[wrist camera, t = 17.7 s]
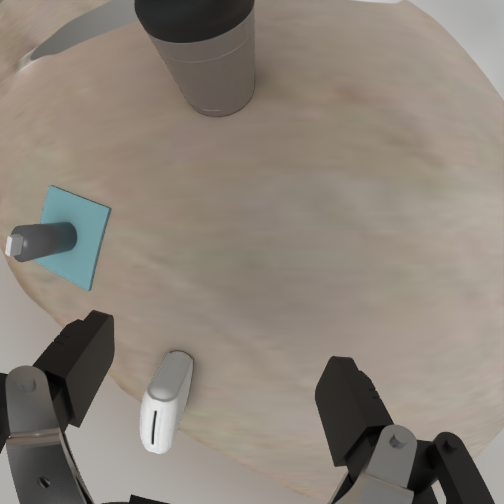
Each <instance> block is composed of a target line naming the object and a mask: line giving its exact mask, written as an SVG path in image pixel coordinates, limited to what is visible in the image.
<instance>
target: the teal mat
mask: <svg viewBox="0 0 504 504" xmlns="http://www.w3.org/2000/svg"><path fill="white" fill-rule="evenodd" d="M110 211H111V208H108V207H106V206H103V205H100V204H98V203H95V202H93V201H90V200H87V199H85V198H82V197H80V196H77V195H75V194H72V193H69V192H67V191H64V190H62V189H59V188H57V187H54V186H51V185H49V189H48V193H47V196H46V200H45V204H44V208H43V212H42V216H41V221H40V224H45V223H58V222H69V223H71V224H72V225H73V226H74V227H75V229H76V232H77V242H76V245H75V247H74V248H73V249H72V250H71V251H67V252H63V253H59V254H54V255H50V256H46V257H42V258H37V259H33V261H35V262H37V263H38V264H40V265H42V266H44V267H45V268H47V269H49V270H51V271H52V272H54V273H56V274H58V275H59V276H61V277H63V278H65V279H67V280H69V281H70V282H72V283H74V284H76V285H78V286H80V287H82V288H84V289H86V290H88V291H90V290H91V286H92V281H93V277H94V272H95V268H96V263H97V259H98V255H99V251H100V247H101V243H102V239H103V235H104V232H105V228H106V225H107V221H108V218H109V214H110Z"/></svg>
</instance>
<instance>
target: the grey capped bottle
mask: <svg viewBox="0 0 504 504" xmlns="http://www.w3.org/2000/svg"><path fill="white" fill-rule="evenodd" d="M76 242H77V232H76V229H75V227H74V226H73V225H72V224H71V223H69V222H58V223H45V224H33V225H22V226H17V227H15V228H14V229H13V231H12V233H11V235H8V239H7V245H6V253H5V254H7V255H8V256H9V257H11V256H14V258H15V259H16V260H17V261H19V262H25V261H29V260H33V259H37V258H42V257H46V256H50V255H54V254H59V253H63V252H67V251H71V250H72V249H73V248H74V247H75V245H76Z"/></svg>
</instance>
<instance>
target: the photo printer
mask: <svg viewBox="0 0 504 504" xmlns="http://www.w3.org/2000/svg"><path fill="white" fill-rule="evenodd" d="M192 371H193V359H191V358H190V356H189V355H187V354H186V353H184V352H180V351H175V352H172V353H170V352H169V353H168V354H167V355H166V357H165V359H164V360H163V362H162V364H161V365H160V367H159V369H158V370H157V372H156V373H155V375H154V377H153V378H152V380H151V382H150V383H149V385H148V387H147V388H146V391H145V393H144V396H143V400H142V405H141V413H140V435H141V440H142V443H143V445H144V447H145V448H146V449H147V450H148V451H151V452H155V453H157V454H162V453H165V452H167V451H168V450H169V449H170V447H171V446H172V443H173V441H174V438H175V435H176V432H177V430H178V427H179V424H180V421H181V418H182V416H183V413H184V410H185V407H186V403H187V399H188V395H189V389H190V384H191V378H192Z"/></svg>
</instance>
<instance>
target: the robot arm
mask: <svg viewBox="0 0 504 504" xmlns="http://www.w3.org/2000/svg"><path fill="white" fill-rule="evenodd" d="M135 12H136V14H137V17H138V18H139V21H140V22H141V24H142V26H143V27H144V29H145V31H146V32H147V34H148V36H149V37H150V39H151V41H152V42H153V44H154V46H155V47H156V49H157V50H158V52H159V54H160V55H161V57H162V59H163V60H164V62H165V64H166V65H167V67H168V69H169V71H170V72H171V74H172V76H173V77H174V79H175V81H176V82H177V84H178V86H179V88H180V89H181V91H182V93H183V94H184V96H185V98H186V99H187V101H188V103H189V104H190V106H191V107H192V108H193V109H194V110H196V111H197V112H199V113H201V114H204V115H207V116H213V117H214V116H225V115H229V114H232V113H235V112H237V111H238V110H240V109H242V108H243V107H244V106H245V105H246V104H247V103H248V102H249V100H250V99H251V97H252V95H253V92H254V87H255V19H254V0H135ZM114 351H115V347H114V318H113V316H112V315H109V314H106V313H102V312H99V311H96V310H93V311H91V312H90V314H89V315H88V316H87V317H86V318H85V319H84V321H82V320H79V319H78V320H76V321H74V322H72V323H70V324H68V325H66V327H65V328H64V329H63V330H62V331H61V332H60V335H58V336H57V337H56V338H55V339H54V342H52V343H51V344H50V345H49V346H48V347H47V349H46V350H45V351H44V352H43V354H42V355H41V356H40V357H39V358H38V359H37V361H36V362H35V363H34V364H33V366H20V367H17V368H15V369H13V370H12V371H11V372H10V373H9V374H4V373H0V453H1V451H2V449H3V447H4V445H5V443H6V448H7V454H8V458H9V464H10V468H11V473H12V477H13V481H14V485H15V488H16V492H17V495H18V499H19V502H20V504H94V502H93V500H92V498H91V496H90V494H89V492H88V490H87V488H86V486H85V484H84V481H83V479H82V477H81V475H80V472H79V470H78V467H77V465H76V462H75V459H74V457H73V454H72V451H71V448H70V446H69V443H68V440H67V436H66V434H65V430H66V428H67V426H68V424H71V425H73V426H76V427H78V428H79V427H80V425H81V423H82V421H83V419H84V417H85V415H86V413H87V411H88V409H89V407H90V405H91V402H92V400H93V399H94V396H95V395H96V393H97V391H98V389H99V387H100V385H101V383H102V381H103V379H104V377H105V376H106V374H107V372H108V370H109V368H110V366H111V364H112V361H113V358H114ZM379 397H380V396H379V394H378V392H377V391H375V387H374V385H373V383H372V381H371V379H370V378H369V377H367V376H366V375H365V374H364V373H363V372H362V371H359V370H358V368H357V366H356V364H355V362H354V360H353V359H352V358H350V357H337V356H332V357H331V358H330V359H329V361H328V363H327V365H326V367H325V370H324V372H323V374H322V376H321V378H320V380H319V382H318V384H317V387H316V390H315V401H316V404H317V408H318V411H319V414H320V418H321V421H322V424H323V428H324V431H325V435H326V438H327V442H328V445H329V449H330V452H331V456H332V459H333V463H334V466H335V467H338V466H347V468H348V471H347V472H346V473H345V474H344V476H343V478H342V480H341V482H340V483H339V485H338V487H337V489H336V490H335V492H334V494H333V496H332V497H331V499H330V501H329V502H328V504H438V502H437V499H436V497H435V494H434V492H433V489H432V487H431V485H432V484H434V483H435V482H436V481H437V480H439V482H440V484H441V487H442V489H443V491H444V494H445V496H446V504H495V503H494V501H493V499H492V497H491V495H490V492H489V490H488V488H487V486H486V484H485V482H484V480H483V479H482V477H481V475H480V473H479V471H478V469H477V467H476V465H475V463H474V462H473V460H472V458H471V456H470V454H469V452H468V451H467V449H466V447H465V445H464V444H463V442H462V440H461V439H460V438H459V437H458V436H456V435H455V434H453V433H450V432H442V433H440V434H438V435H437V437H436V438H435V439H434V440H433V441H432V442H431V441H423V440H416V438H415V436H414V434H413V433H412V432H411V431H410V430H408V429H407V428H405V427H403V426H400V425H394V423H393V421H392V419H391V417H390V415H389V413H388V411H387V409H386V407H385V406H384V404H383V402H382V400H381V398H379ZM9 436H11V437H10V438H8V437H9ZM102 504H169V503H163V502H159V501H155V500H151V499H146V498H142V497H139V496H135V495H131V497H130V501H129V502H109V503H102Z"/></svg>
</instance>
